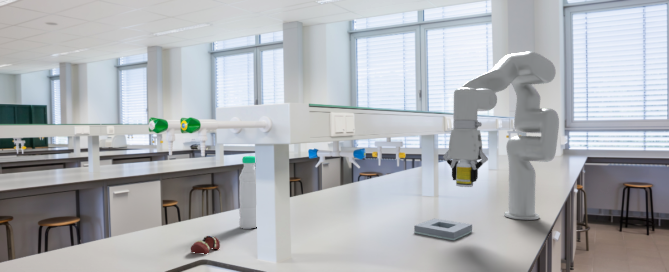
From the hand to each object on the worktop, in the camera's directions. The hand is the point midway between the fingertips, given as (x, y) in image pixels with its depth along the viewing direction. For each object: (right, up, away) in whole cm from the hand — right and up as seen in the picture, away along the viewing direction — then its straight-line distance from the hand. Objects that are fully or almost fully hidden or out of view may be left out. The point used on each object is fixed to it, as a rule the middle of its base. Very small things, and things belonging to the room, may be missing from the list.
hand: (464, 180), depth 142 cm
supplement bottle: (0, -2, 0) cm, 2 cm away
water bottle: (-73, -18, +10) cm, 76 cm away
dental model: (-80, -19, -19) cm, 84 cm away
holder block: (-6, -18, +2) cm, 19 cm away
